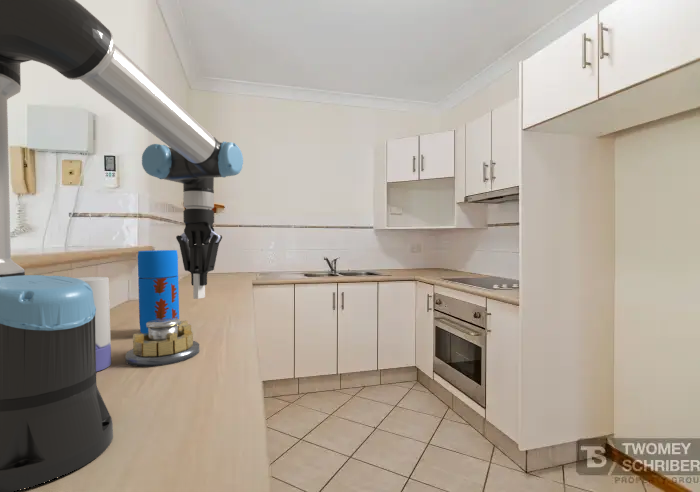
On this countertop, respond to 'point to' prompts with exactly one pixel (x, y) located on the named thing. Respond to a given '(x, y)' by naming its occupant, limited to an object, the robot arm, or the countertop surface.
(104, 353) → the container
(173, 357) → the base
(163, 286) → the thermos
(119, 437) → the countertop surface
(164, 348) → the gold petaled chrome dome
